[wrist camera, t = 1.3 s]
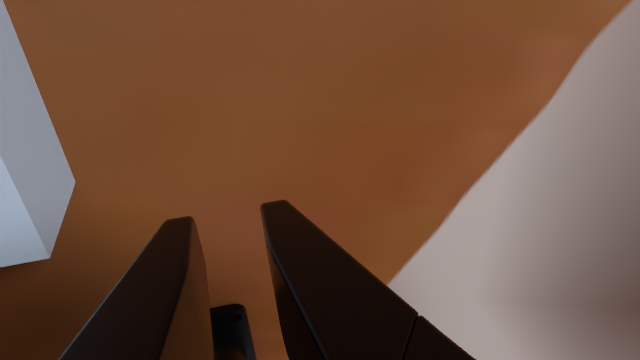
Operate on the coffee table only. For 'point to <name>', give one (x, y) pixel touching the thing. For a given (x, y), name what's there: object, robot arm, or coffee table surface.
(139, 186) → the coffee table surface
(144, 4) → the coffee table surface
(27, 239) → the grey stepped block
